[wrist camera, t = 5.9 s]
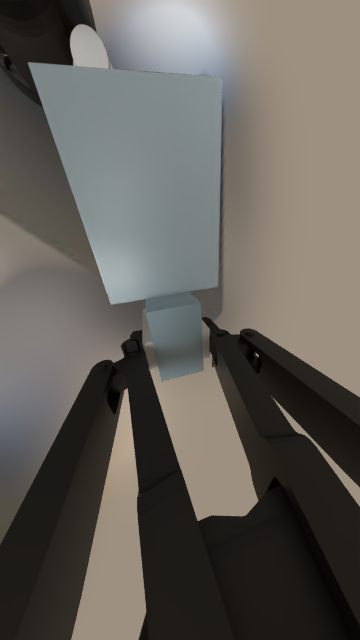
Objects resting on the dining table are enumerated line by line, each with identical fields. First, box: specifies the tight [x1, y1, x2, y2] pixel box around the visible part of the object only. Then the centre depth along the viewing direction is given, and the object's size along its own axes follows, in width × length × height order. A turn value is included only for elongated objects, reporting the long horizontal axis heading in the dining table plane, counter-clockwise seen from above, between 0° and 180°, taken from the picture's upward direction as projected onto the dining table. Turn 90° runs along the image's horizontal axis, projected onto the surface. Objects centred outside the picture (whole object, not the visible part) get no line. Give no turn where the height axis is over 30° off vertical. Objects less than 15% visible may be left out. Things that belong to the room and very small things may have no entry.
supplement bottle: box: [70, 24, 114, 69], centre depth 21 cm, size 5×5×10 cm
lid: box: [28, 62, 222, 381], centre depth 9 cm, size 17×9×4 cm, turn 6°
